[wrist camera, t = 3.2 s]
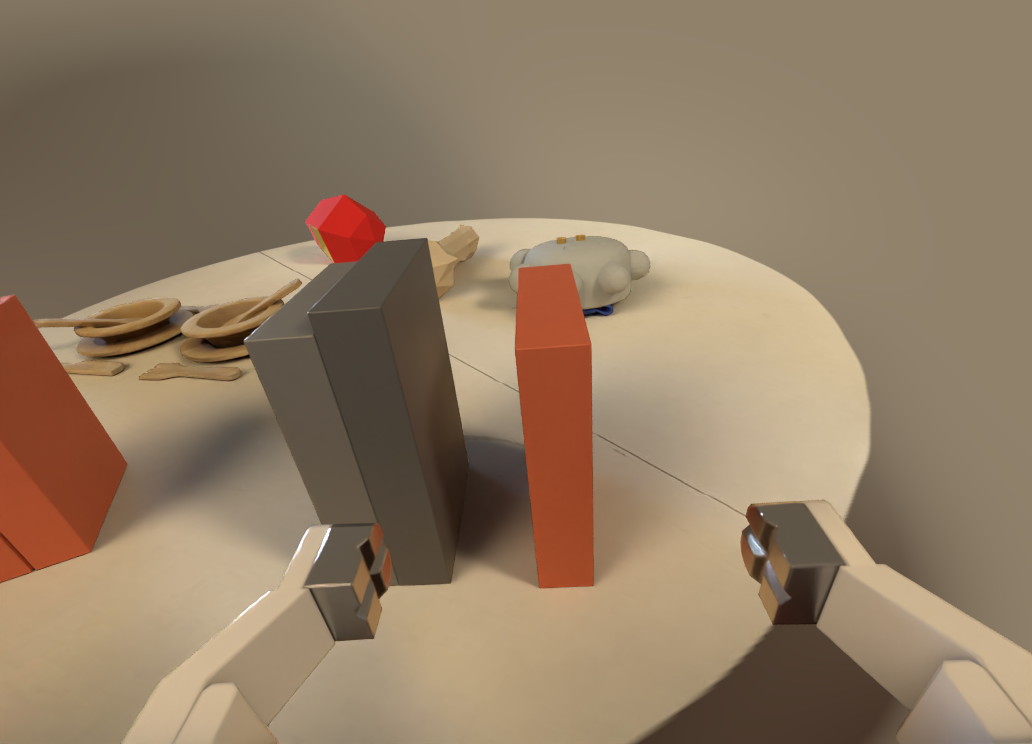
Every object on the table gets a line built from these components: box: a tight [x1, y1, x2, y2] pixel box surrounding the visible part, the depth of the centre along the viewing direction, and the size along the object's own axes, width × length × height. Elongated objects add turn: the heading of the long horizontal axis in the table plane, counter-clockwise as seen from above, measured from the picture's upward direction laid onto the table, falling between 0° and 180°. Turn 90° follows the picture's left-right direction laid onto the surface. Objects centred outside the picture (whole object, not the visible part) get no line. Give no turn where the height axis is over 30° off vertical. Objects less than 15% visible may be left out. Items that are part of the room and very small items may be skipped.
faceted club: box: [428, 225, 479, 299], centre depth 72 cm, size 9×8×25 cm
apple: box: [306, 195, 386, 263], centre depth 84 cm, size 12×12×15 cm
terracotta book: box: [515, 264, 594, 588], centre depth 27 cm, size 10×3×15 cm, turn 179°
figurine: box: [509, 235, 650, 315], centre depth 60 cm, size 17×8×20 cm
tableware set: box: [33, 279, 302, 380], centre depth 60 cm, size 30×20×6 cm, turn 78°
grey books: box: [244, 238, 469, 586], centre depth 27 cm, size 10×6×17 cm, turn 179°
